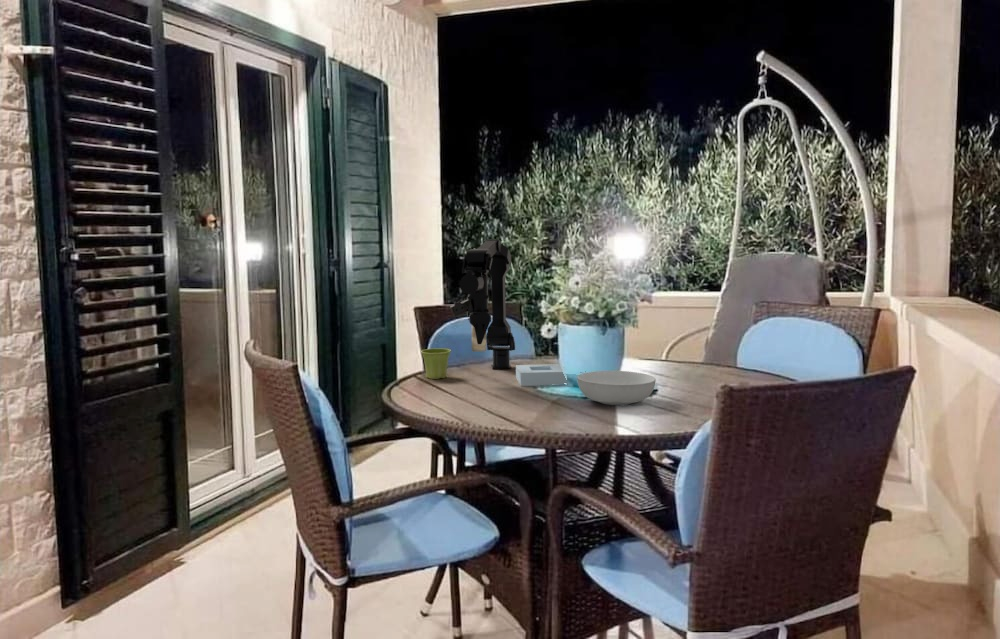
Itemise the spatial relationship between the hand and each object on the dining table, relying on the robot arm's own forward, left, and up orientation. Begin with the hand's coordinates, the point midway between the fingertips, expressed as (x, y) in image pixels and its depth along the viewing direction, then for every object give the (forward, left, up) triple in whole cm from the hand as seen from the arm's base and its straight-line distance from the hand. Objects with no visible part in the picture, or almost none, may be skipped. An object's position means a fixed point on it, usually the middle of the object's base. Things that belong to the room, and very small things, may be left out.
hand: (479, 343), depth 241 cm
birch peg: (0, 0, -2) cm, 2 cm away
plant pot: (-12, -13, -13) cm, 22 cm away
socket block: (-1, +19, -12) cm, 23 cm away
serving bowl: (+31, +35, -13) cm, 48 cm away
